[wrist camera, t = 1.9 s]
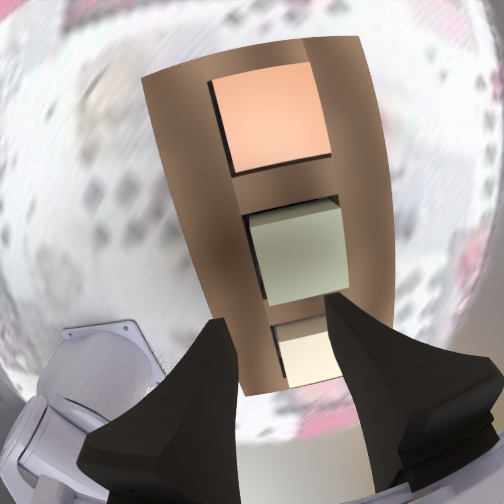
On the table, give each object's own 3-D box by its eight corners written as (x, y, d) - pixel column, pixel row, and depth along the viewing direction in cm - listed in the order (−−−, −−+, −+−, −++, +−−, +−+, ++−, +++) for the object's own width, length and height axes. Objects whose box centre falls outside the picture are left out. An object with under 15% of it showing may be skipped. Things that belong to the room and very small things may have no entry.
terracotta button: (237, 168, 16) (235, 172, 14) (217, 88, 14) (211, 80, 12) (319, 151, 16) (331, 152, 13) (300, 72, 14) (309, 61, 11)
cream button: (286, 366, 22) (289, 388, 20) (275, 320, 20) (278, 342, 18) (344, 352, 22) (352, 372, 19) (341, 305, 20) (351, 325, 17)
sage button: (266, 286, 19) (269, 306, 17) (249, 215, 17) (249, 227, 15) (337, 269, 19) (349, 287, 16) (328, 198, 17) (340, 208, 14)
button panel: (245, 376, 24) (245, 396, 22) (154, 85, 15) (141, 77, 13) (379, 344, 23) (389, 362, 21) (345, 46, 14) (358, 35, 12)
